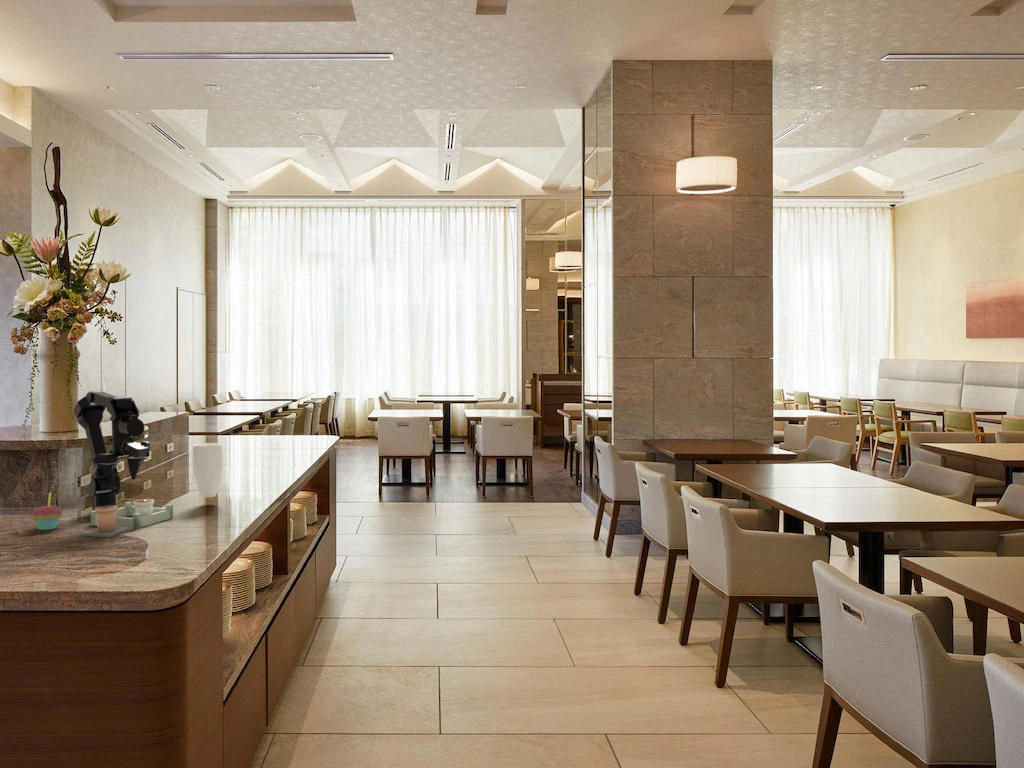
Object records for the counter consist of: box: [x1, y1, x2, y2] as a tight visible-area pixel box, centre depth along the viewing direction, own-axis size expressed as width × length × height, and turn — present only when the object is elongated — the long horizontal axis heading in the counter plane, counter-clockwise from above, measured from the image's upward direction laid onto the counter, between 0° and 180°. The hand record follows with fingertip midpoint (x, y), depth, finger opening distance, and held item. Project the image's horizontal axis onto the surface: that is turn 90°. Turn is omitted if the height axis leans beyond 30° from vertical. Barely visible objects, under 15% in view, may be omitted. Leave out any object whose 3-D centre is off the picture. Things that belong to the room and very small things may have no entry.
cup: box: [192, 442, 224, 498], centre depth 283 cm, size 10×10×22 cm
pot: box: [132, 498, 155, 517], centre depth 255 cm, size 6×6×7 cm
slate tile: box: [80, 526, 134, 538], centre depth 241 cm, size 10×10×1 cm
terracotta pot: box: [95, 504, 118, 532], centre depth 241 cm, size 6×6×7 cm
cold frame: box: [89, 501, 174, 529], centre depth 256 cm, size 18×16×4 cm
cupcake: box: [29, 490, 63, 531], centre depth 247 cm, size 9×8×12 cm
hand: (123, 481), depth 262 cm, fingers open, 9 cm apart
